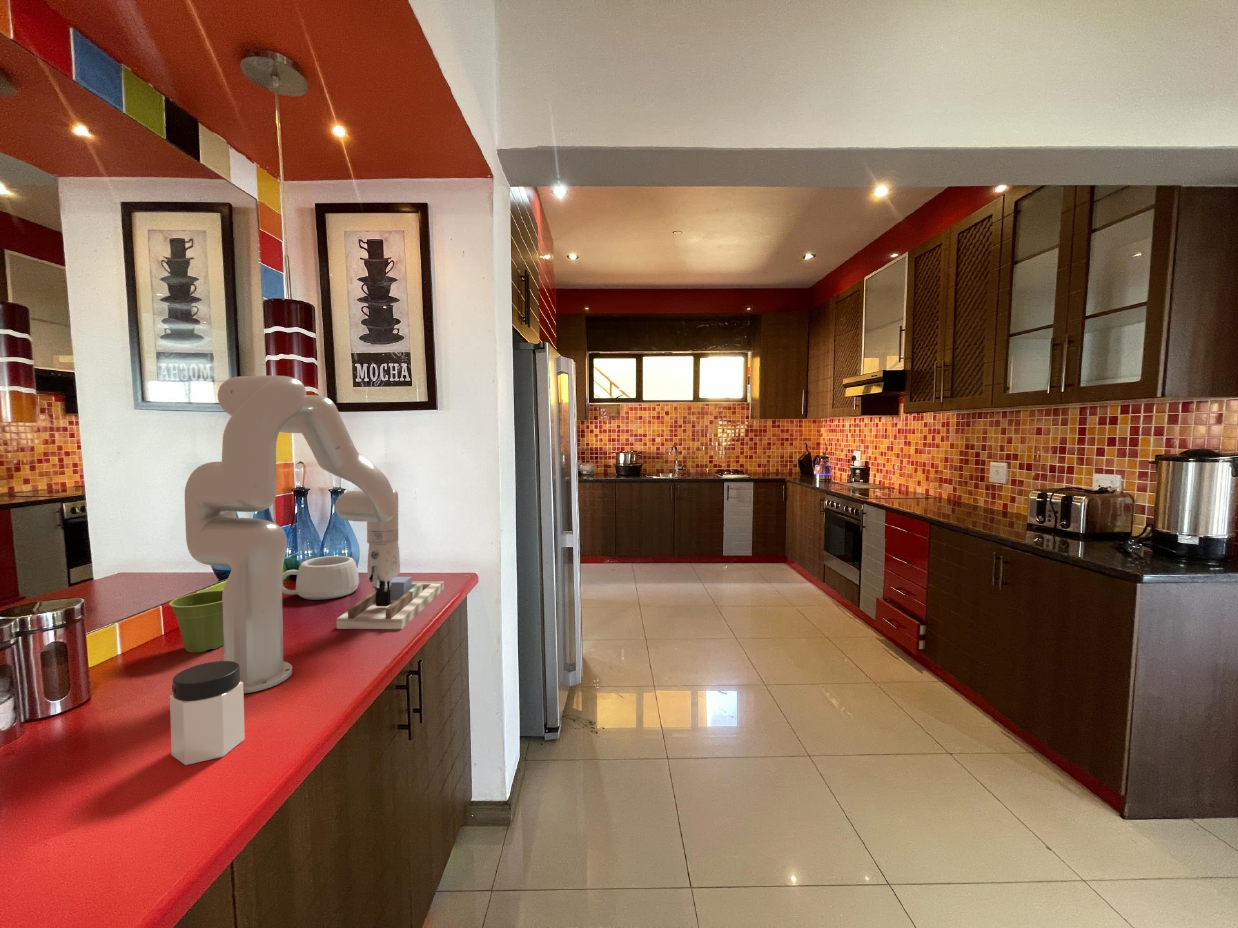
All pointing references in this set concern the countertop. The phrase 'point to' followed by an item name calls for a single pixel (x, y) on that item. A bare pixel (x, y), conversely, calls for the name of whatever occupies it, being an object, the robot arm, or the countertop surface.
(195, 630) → the plant pot
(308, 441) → the robot arm
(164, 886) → the countertop surface
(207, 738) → the jar
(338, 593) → the mug
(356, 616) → the tunnel board
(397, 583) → the slate block
